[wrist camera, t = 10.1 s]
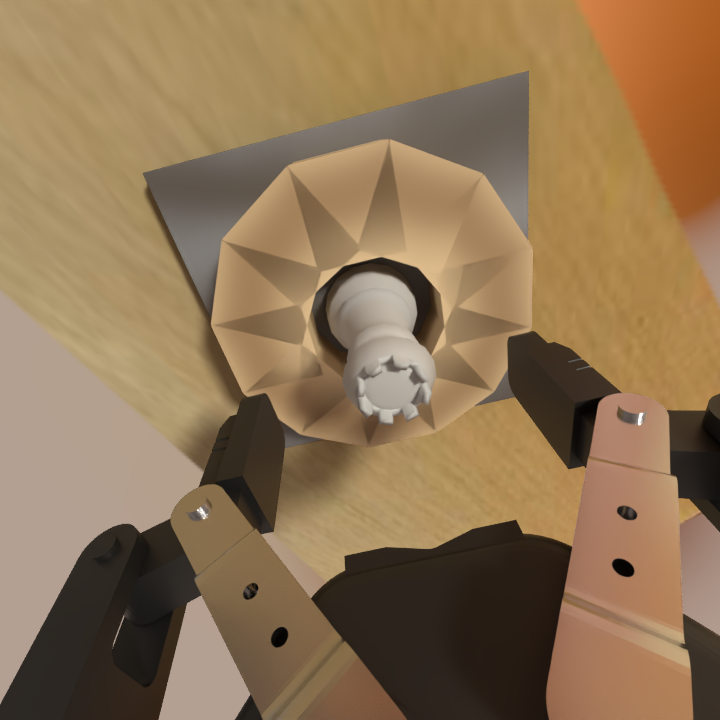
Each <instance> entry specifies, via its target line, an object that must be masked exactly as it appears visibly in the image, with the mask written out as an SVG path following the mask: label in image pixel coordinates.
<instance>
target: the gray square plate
mask: <svg viewBox="0 0 720 720" xmlns="http://www.w3.org/2000/svg"><path fill="white" fill-rule="evenodd" d="M528 128H529V71H526V72H522V73H518V74H515V75H511V76H507V77H503V78H500V79H496V80H492V81H488V82H484V83H481V84H477V85H473V86H469V87H466V88H462V89H458V90H454V91H450V92H447V93H443V94H439V95H435V96H432V97H428V98H424V99H420V100H416V101H413V102H409V103H405V104H401V105H398V106H394V107H390V108H386V109H383V110H379V111H375V112H371V113H367V114H364V115H360V116H356V117H352V118H349V119H345V120H341V121H337V122H333V123H330V124H326V125H322V126H318V127H315V128H311V129H307V130H303V131H299V132H296V133H292V134H288V135H284V136H281V137H277V138H273V139H269V140H265V141H262V142H258V143H254V144H250V145H247V146H243V147H239V148H235V149H232V150H228V151H224V152H220V153H216V154H213V155H209V156H205V157H201V158H198V159H194V160H190V161H186V162H182V163H179V164H175V165H171V166H167V167H164V168H160V169H156V170H152V171H148V172H145V173H143V175H144V177H145V179H146V182H147V184H148V186H149V188H150V190H151V192H152V194H153V196H154V199H155V201H156V203H157V205H158V207H159V209H160V211H161V214H162V216H163V218H164V220H165V222H166V224H167V226H168V228H169V231H170V233H171V235H172V237H173V239H174V241H175V243H176V245H177V248H178V250H179V252H180V254H181V256H182V258H183V260H184V262H185V265H186V267H187V269H188V271H189V273H190V275H191V277H192V280H193V282H194V284H195V286H196V288H197V290H198V292H199V294H200V297H201V299H202V301H203V303H204V305H205V307H206V309H207V311H208V314H209V316H210V318H211V327H212V329H213V331H214V333H215V335H216V337H217V339H218V342H219V344H220V346H221V348H222V350H223V352H224V354H225V356H226V358H227V361H228V363H229V365H230V367H231V369H232V371H233V373H234V375H235V377H236V380H237V382H238V384H239V386H240V388H241V390H242V392H243V393H244V395H246V396H247V397H249V396H253V395H258V394H262V393H266V394H267V395H268V397H269V399H270V401H271V403H272V405H273V408H274V410H275V412H276V414H277V417H278V419H279V421H280V424H281V426H282V428H283V432H284V437H285V448H287V447H291V446H296V445H300V444H305V443H310V442H314V441H319V440H323V439H326V440H331V441H337V442H342V443H348V444H353V445H359V446H364V447H368V446H369V447H372V446H377V445H382V444H386V443H391V442H395V441H400V440H404V439H409V438H414V437H418V436H423V435H427V434H432V433H436V432H438V431H439V430H441V429H442V428H443V427H445V426H446V425H448V424H449V423H451V422H452V421H453V420H455V419H456V418H458V417H459V416H460V415H462V414H463V413H465V412H466V411H468V410H469V409H470V408H472V407H473V406H477V405H481V404H486V403H490V402H495V401H499V400H504V399H508V398H513V397H515V396H514V394H513V392H512V390H511V388H510V385H509V380H508V354H507V341H508V338H509V337H510V336H514V335H518V334H523V333H527V332H529V331H530V329H531V327H532V259H533V248H532V246H531V244H530V243H529V241H528ZM368 263H374V264H381V265H387V266H390V267H391V268H393V269H394V270H396V271H398V272H399V273H401V274H402V275H404V277H405V278H406V280H407V281H408V283H409V284H410V286H411V288H412V289H413V294H414V295H415V300H416V306H417V317H416V321H415V325H414V328H413V331H412V334H413V336H414V337H415V338H416V340H417V341H418V343H419V344H420V345H422V346H423V347H425V348H426V350H427V351H428V352H429V354H430V355H431V357H432V358H433V360H434V362H435V369H436V379H435V382H434V385H433V388H432V395H431V398H430V401H429V405H427V404H424V403H421V404H420V405H419V406H417V409H418V412H419V416H417V417H415V418H414V419H412V420H410V421H409V422H407V421H406V419H405V417H404V414H402V415H398V416H393V425H383V424H379V422H378V417H377V416H376V415H370V416H369V417H368V418H366V417H365V416H364V415H363V414H362V413H361V412H360V411H359V409H358V408H357V407H356V406H355V405H354V404H353V403H352V402H351V401H350V400H349V399H348V398H347V396H346V393H345V390H344V386H343V383H342V379H343V374H344V368H345V365H346V363H347V355H348V349H346V348H345V347H343V346H342V345H341V343H340V342H339V341H338V340H337V339H336V337H335V336H334V335H333V334H332V332H331V329H330V326H329V322H328V319H327V313H326V303H327V296H328V292H329V291H330V289H331V287H332V286H333V284H334V282H335V281H336V279H337V278H338V277H339V276H341V275H342V274H343V273H345V272H346V271H348V270H349V269H350V268H352V267H355V266H359V265H364V264H368Z"/></svg>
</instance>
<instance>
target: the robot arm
mask: <svg viewBox="0 0 720 720" xmlns="http://www.w3.org/2000/svg"><path fill="white" fill-rule="evenodd" d="M507 354H508V380H509V385H510V388H511V390H512V392H513V394H514V396H515V397H516V398H517V400H518V401H519V402H520V404H521V405H522V407H523V408H524V409H525V411H526V412H527V413H528V415H529V416H530V417H531V419H532V420H533V422H534V423H535V424H536V426H537V427H538V428H539V430H540V431H541V432H542V434H543V435H544V436H545V438H546V439H547V441H548V442H549V443H550V445H551V446H552V447H553V449H554V450H555V451H556V453H557V454H558V456H559V457H560V458H561V460H562V461H563V462H564V464H565V465H566V466H567V468H568V469H572V468H577V467H581V466H584V467H585V468H586V472H585V478H584V484H583V489H582V495H581V501H580V506H579V512H578V517H577V523H576V529H575V534H574V540H573V546H569V545H567V544H565V543H563V542H560V541H557V540H555V539H551V538H548V537H544V536H539V535H533V534H523V533H522V531H521V529H520V527H519V525H518V523H517V521H516V520H513V521H509V522H504V523H499V524H494V525H490V526H485V527H480V528H475V529H472V530H470V531H468V532H466V533H464V534H462V535H460V536H458V537H456V538H454V539H452V540H450V541H448V542H446V543H444V544H442V545H440V546H438V547H436V548H433V549H413V548H391V547H385V548H380V549H376V550H371V551H366V552H361V553H357V554H352V555H347V556H345V571H343V572H342V573H340V574H338V575H336V576H335V577H333V578H332V579H330V580H329V581H328V582H327V583H326V584H324V585H323V586H322V587H321V588H320V589H319V590H318V591H317V592H316V593H315V594H314V595H313V597H312V598H310V597H309V596H308V594H307V593H306V592H305V591H304V589H303V588H302V587H301V585H300V584H299V583H298V582H297V580H296V579H295V578H294V576H293V575H292V574H291V573H290V571H289V570H288V569H287V567H286V566H285V565H284V564H283V562H282V561H281V560H280V559H279V557H278V556H277V555H276V553H275V552H274V551H273V550H272V548H271V547H270V546H269V544H268V543H267V542H266V540H265V539H264V538H263V537H262V536H261V534H264V533H269V532H274V526H275V518H276V511H277V503H278V496H279V488H280V480H281V473H282V465H283V458H284V450H285V437H284V432H283V428H282V426H281V424H280V421H279V419H278V417H277V414H276V412H275V410H274V408H273V405H272V403H271V401H270V399H269V397H268V395H267V394H266V393H262V394H258V395H253V396H249V397H245V398H242V400H241V403H240V406H239V409H238V412H237V415H233V416H230V417H229V418H228V419H227V421H226V422H225V423H224V424H223V425H222V427H221V428H220V430H219V433H218V435H217V438H216V443H215V444H214V446H213V449H212V453H211V455H210V457H209V460H208V463H207V466H206V468H205V471H204V474H203V477H202V479H201V482H200V485H199V487H198V488H196V489H194V490H193V491H191V492H189V493H188V494H187V495H185V496H184V497H183V498H182V499H181V500H180V501H179V502H178V504H177V505H176V506H175V508H174V510H173V512H172V515H171V518H170V519H169V520H167V521H165V522H163V523H161V524H158V525H156V526H155V527H152V528H150V529H148V530H146V531H144V532H142V533H140V532H139V531H138V530H137V529H136V528H135V527H134V526H133V525H131V524H121V525H117V526H114V527H112V528H110V529H108V530H106V531H105V532H103V533H102V534H100V535H99V536H97V537H96V538H95V539H94V540H93V541H92V542H91V543H90V544H89V545H88V546H87V547H86V548H85V549H84V551H83V552H82V553H81V555H80V557H79V558H78V560H77V562H76V564H75V566H74V568H73V570H72V571H71V573H70V575H69V577H68V579H67V581H66V583H65V585H64V586H63V588H62V590H61V592H60V594H59V596H58V598H57V599H56V601H55V603H54V605H53V607H52V609H51V611H50V613H49V614H48V617H47V618H46V620H45V622H44V624H43V626H42V627H41V629H40V631H39V633H38V635H37V637H36V639H35V641H34V643H33V644H32V646H31V648H30V650H29V652H28V654H27V655H26V657H25V659H24V661H23V663H22V665H21V667H20V669H19V670H18V672H17V674H16V676H15V678H14V680H13V682H12V683H11V685H10V687H9V689H8V691H7V693H6V695H5V697H4V698H3V700H2V702H1V704H0V720H158V719H159V715H160V711H161V707H162V703H163V699H164V695H165V691H166V686H167V682H168V678H169V674H170V670H171V666H172V662H173V658H174V654H175V650H176V646H177V642H178V638H179V634H180V630H181V626H182V621H183V617H184V613H185V609H186V605H187V603H188V602H190V601H191V600H193V599H195V598H197V597H199V596H201V595H202V597H203V599H204V601H205V603H206V605H207V607H208V609H209V611H210V613H211V615H212V617H213V619H214V621H215V623H216V625H217V627H218V629H219V631H220V633H221V635H222V637H223V639H224V641H225V643H226V645H227V647H228V650H229V652H230V654H231V656H232V657H233V660H234V662H235V664H236V665H237V668H238V669H239V671H240V674H241V676H242V678H243V680H244V682H245V684H246V686H247V688H248V690H249V692H250V696H249V698H248V699H247V701H246V703H245V704H244V706H243V707H242V709H241V711H240V712H239V714H238V716H237V717H236V719H235V720H720V636H719V635H718V634H716V633H714V632H713V631H711V630H709V629H708V628H706V627H704V626H703V625H701V624H700V623H698V622H696V621H695V620H693V619H691V618H690V617H688V616H686V615H685V614H683V606H682V582H681V556H680V532H679V505H678V498H686V499H690V500H691V501H692V502H693V503H694V505H695V506H696V507H697V508H698V509H699V510H700V511H701V512H702V513H703V514H704V515H705V516H706V517H707V519H708V520H709V521H710V522H711V523H712V524H713V525H714V526H715V527H716V528H717V530H718V531H719V532H720V394H718V395H715V396H713V397H712V398H711V399H710V400H709V403H708V406H707V409H706V411H671V410H666V409H665V408H664V407H663V406H662V405H661V404H660V403H658V402H656V401H655V400H653V399H651V398H648V397H645V396H642V395H637V394H631V393H621V392H620V391H619V390H618V389H617V388H616V387H614V386H613V385H612V384H611V383H610V382H609V381H607V380H606V379H605V378H604V377H603V376H602V375H601V374H599V373H598V372H597V371H596V370H595V369H594V368H590V365H589V364H588V363H587V362H585V361H584V360H581V357H580V356H578V355H577V354H576V353H575V352H574V351H573V350H571V349H570V348H568V347H565V346H563V345H560V344H558V343H555V342H553V343H547V342H546V341H545V340H544V339H543V338H541V337H540V336H539V335H538V334H537V333H536V332H534V331H531V332H527V333H523V334H518V335H514V336H510V337H509V338H508V341H507ZM123 615H124V616H125V617H124V620H123V622H122V625H121V628H120V630H119V633H118V636H117V638H116V641H115V644H114V646H113V643H114V639H115V637H116V634H117V631H118V629H119V626H120V623H121V621H122V618H123ZM112 648H113V649H112Z"/></svg>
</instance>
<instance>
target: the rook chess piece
mask: <svg viewBox="0 0 720 720" xmlns="http://www.w3.org/2000/svg"><path fill="white" fill-rule="evenodd" d="M326 313H327V319H328V322H329V326H330V329H331V332H332V334H333V335H334V336H335V337H336V339H337V340H338V341H339V342H340V343H341V345H342V346H343V347H345V348H346V349H348V355H347V363H346V365H345V368H344V374H343V379H342V383H343V386H344V390H345V393H346V396H347V398H348V399H349V400H350V401H351V402H352V403H353V404H354V405H355V406H356V407H357V408H358V409H359V411H360V412H361V413H362V414H363V415H364V416H365V417H366V418H368V417H369V416H370V415H376V416H377V417H378V422H379V424H383V425H393V416H398V415H402V414H404V417H405V419H406V421H407V422H409V421H410V420H412V419H414V418H415V417H417V416H419V412H418V409H417V406H419V405H420V404H421V403H424V404H427V405H429V401H430V398H431V395H432V388H433V385H434V382H435V379H436V369H435V362H434V360H433V358H432V357H431V355H430V354H429V352H428V351H427V350H426V348H425V347H423V346H422V345H420V344H419V343H418V341H417V340H416V338H415V337H414V336H413V334H412V331H413V328H414V325H415V321H416V317H417V306H416V300H415V295H414V294H413V289H412V288H411V286H410V284H409V283H408V281H407V280H406V278H405V277H404V275H402V274H401V273H399V272H398V271H396V270H394V269H393V268H391V267H390V266H387V265H381V264H374V263H368V264H364V265H359V266H355V267H352V268H350V269H349V270H348V271H346V272H345V273H343V274H342V275H341V276H339V277H338V278H337V279H336V281H335V282H334V284H333V286H332V287H331V289H330V291H329V292H328V296H327V303H326Z"/></svg>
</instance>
